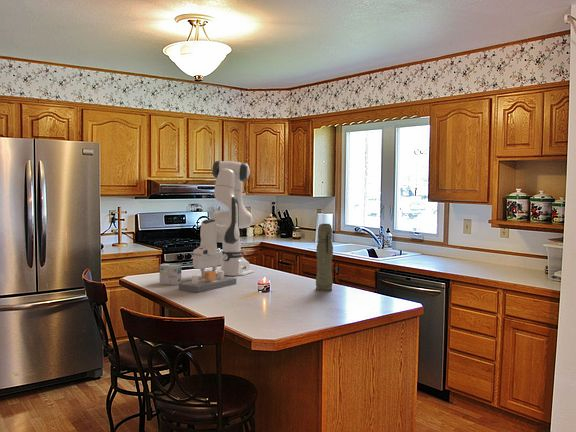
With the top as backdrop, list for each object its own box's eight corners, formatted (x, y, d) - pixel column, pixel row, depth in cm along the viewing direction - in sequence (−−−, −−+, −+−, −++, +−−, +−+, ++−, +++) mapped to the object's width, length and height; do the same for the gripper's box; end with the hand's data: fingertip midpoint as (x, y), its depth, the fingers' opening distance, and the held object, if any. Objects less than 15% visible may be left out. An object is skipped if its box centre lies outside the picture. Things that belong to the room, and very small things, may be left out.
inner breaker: (220, 278, 293) (220, 270, 293) (224, 278, 292) (224, 271, 291) (217, 278, 291) (217, 271, 291) (221, 279, 290) (221, 271, 289)
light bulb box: (181, 282, 293) (181, 263, 292) (178, 285, 286) (178, 265, 286) (163, 282, 294) (163, 263, 294) (159, 284, 288) (159, 264, 287)
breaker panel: (217, 280, 300) (217, 275, 299) (236, 283, 292) (236, 278, 291) (178, 289, 275) (178, 283, 275) (197, 292, 267) (197, 286, 267)
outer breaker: (195, 283, 277) (195, 275, 276) (198, 284, 275) (198, 276, 275) (191, 284, 275) (191, 276, 275) (195, 284, 273) (195, 276, 273)
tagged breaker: (208, 285, 285) (208, 277, 285) (211, 286, 284) (211, 278, 283) (205, 286, 283) (205, 278, 283) (208, 286, 282) (208, 278, 281)
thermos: (323, 292, 273) (324, 225, 270) (311, 288, 283) (312, 223, 280) (337, 290, 277) (338, 224, 275) (324, 286, 287) (325, 222, 285)
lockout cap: (208, 277, 287) (208, 270, 287) (215, 278, 284) (215, 271, 284) (201, 278, 283) (201, 271, 282) (208, 279, 279) (208, 272, 279)
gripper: (217, 247, 292) (217, 271, 293) (190, 251, 276) (190, 277, 277) (226, 248, 289) (225, 273, 290) (199, 252, 272) (199, 278, 273)
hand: (208, 275), depth 283 cm, fingers closed on lockout cap, 5 cm apart
